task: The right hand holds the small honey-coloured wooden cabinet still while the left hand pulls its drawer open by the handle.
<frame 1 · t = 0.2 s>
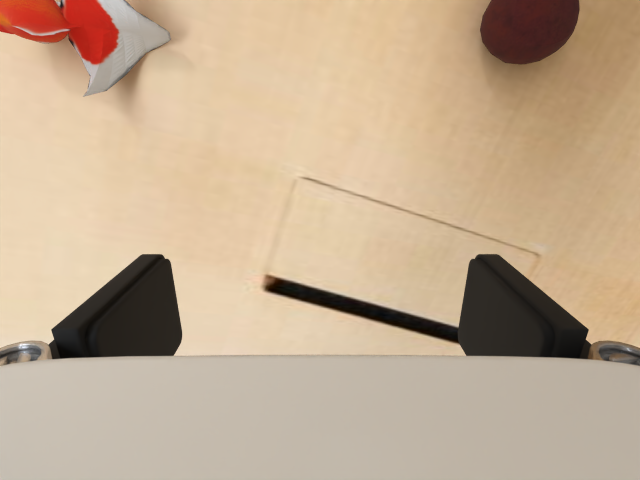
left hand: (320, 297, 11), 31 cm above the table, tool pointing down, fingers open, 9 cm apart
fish: (100, 28, 36), on the table
potato: (507, 28, 36), on the table
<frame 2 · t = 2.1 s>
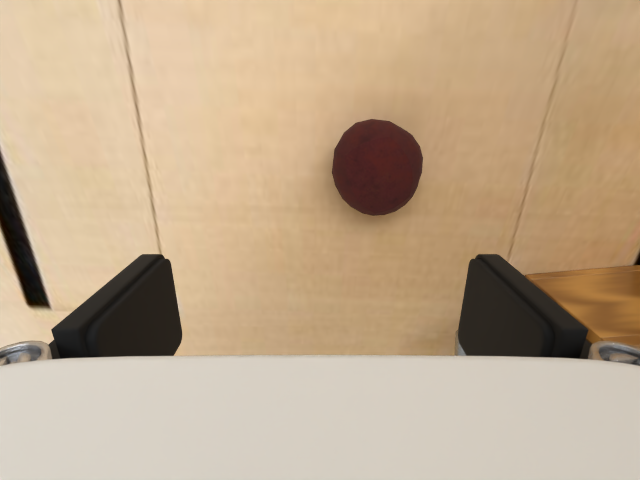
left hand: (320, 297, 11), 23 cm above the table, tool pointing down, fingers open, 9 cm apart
cabinet: (602, 310, 38), on the table
potato: (371, 160, 32), on the table
drawer: (575, 351, 33), point 6 cm above the table, slide at 1.7 cm
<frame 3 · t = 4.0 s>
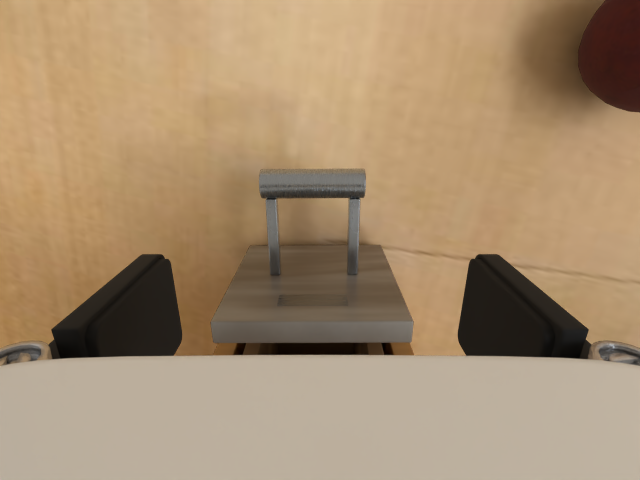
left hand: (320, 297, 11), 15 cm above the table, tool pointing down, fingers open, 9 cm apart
cabinet: (316, 366, 30), on the table, touching right hand
potato: (616, 47, 22), on the table
drawer: (314, 344, 22), point 6 cm above the table, slide at 1.7 cm
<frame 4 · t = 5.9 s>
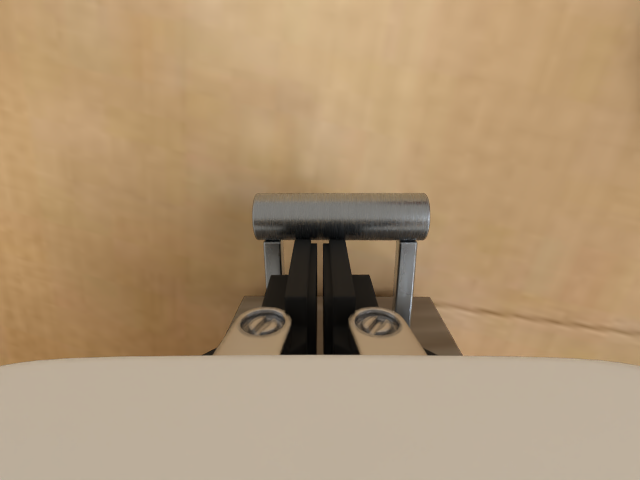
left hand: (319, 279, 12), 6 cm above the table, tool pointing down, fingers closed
drawer: (337, 455, 15), point 6 cm above the table, slide at 1.9 cm, touching left hand
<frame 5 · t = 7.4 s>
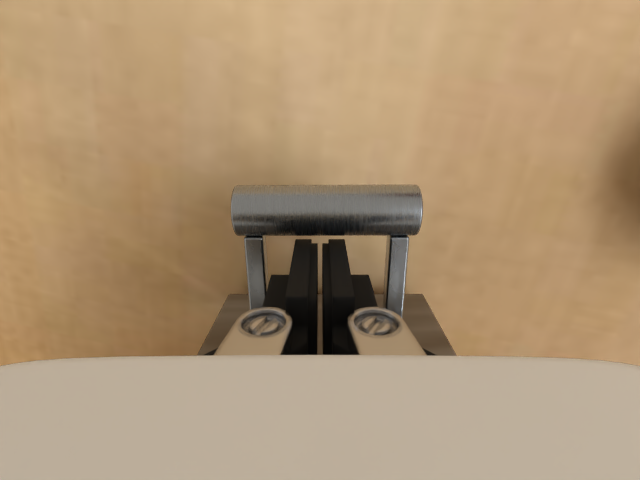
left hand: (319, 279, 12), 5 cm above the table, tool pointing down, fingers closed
drawer: (326, 461, 14), point 6 cm above the table, slide at 8.3 cm
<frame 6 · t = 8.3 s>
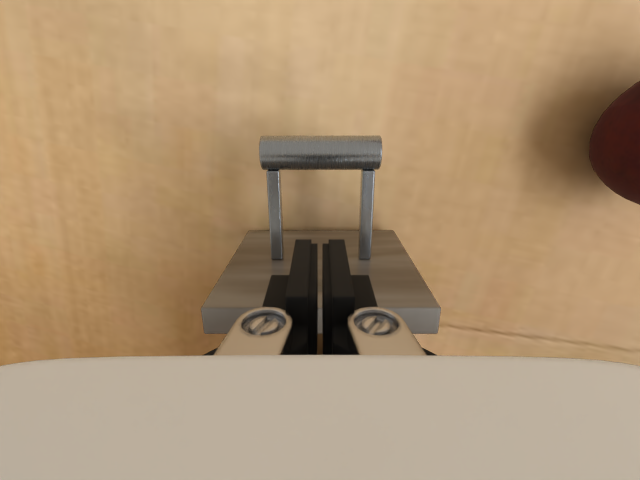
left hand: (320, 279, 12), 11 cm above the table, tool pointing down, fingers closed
potato: (626, 133, 21), on the table
drawer: (321, 340, 20), point 6 cm above the table, slide at 8.2 cm
when the right hand's fingers open (7 cm above the table, at t = 8.8 s): cabinet stays where it is, on the table.
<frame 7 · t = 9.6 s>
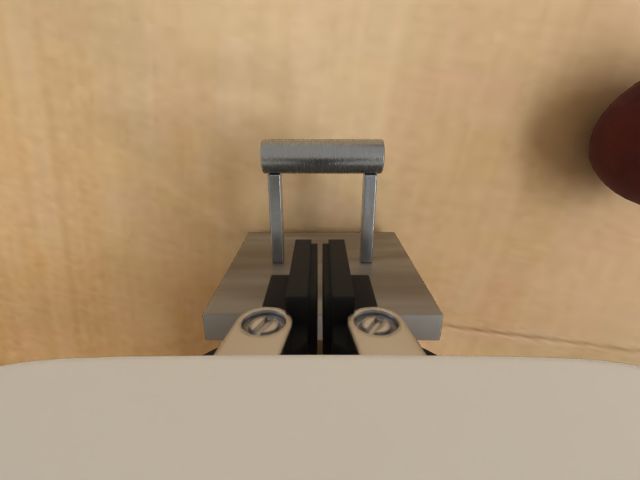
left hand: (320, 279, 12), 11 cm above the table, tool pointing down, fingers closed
potato: (626, 133, 21), on the table
drawer: (321, 343, 20), point 6 cm above the table, slide at 8.2 cm
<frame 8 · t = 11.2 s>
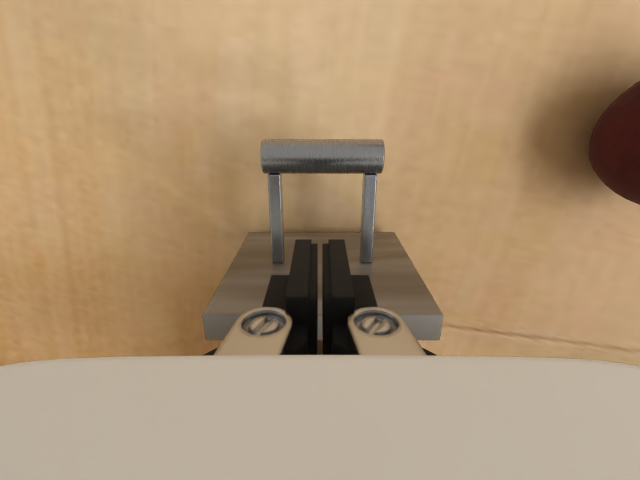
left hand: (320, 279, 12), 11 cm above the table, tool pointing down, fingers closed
potato: (626, 133, 21), on the table
drawer: (321, 343, 20), point 6 cm above the table, slide at 8.2 cm
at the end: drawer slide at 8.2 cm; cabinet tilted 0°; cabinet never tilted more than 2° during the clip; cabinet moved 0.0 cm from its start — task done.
